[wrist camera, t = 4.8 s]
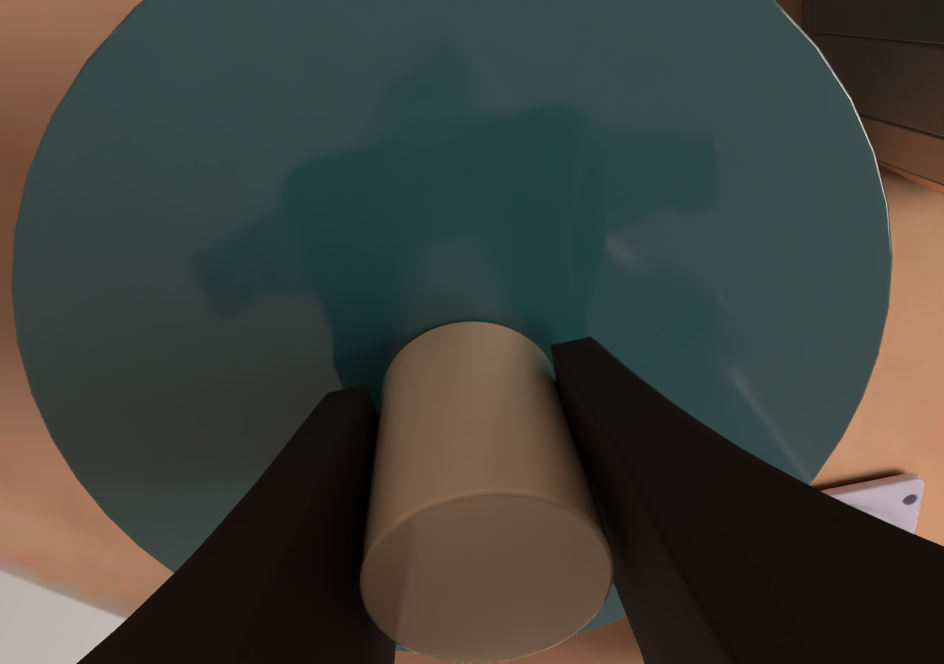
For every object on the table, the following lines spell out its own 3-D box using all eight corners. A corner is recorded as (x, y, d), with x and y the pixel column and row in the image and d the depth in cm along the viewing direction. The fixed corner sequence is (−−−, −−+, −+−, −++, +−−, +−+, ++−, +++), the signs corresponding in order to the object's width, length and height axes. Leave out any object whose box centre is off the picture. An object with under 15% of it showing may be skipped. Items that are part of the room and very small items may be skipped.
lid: (819, 544, 14) (987, 779, 10) (248, 654, 14) (176, 919, 10) (902, -231, 7) (1545, -536, 3) (-156, 38, 8) (-812, 85, 4)
